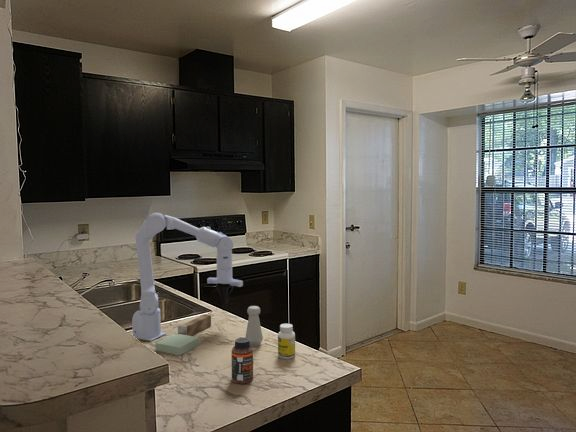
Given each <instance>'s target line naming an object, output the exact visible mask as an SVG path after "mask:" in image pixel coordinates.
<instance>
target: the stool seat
mask: <svg viewBox="0 0 576 432" xmlns="http://www.w3.org/2000/svg"><path fill="white" fill-rule="evenodd" d="M198 346H200V337H198V336H194V335H192V336H188V335H183V334H178V332H176V333H173V334H171V335H169V336H166V337H165V338H162V339H161V340H159V341H156V342H155V351H157V352H161V353H168V354H173V355H176V356H182V355H184V354H185V353H187V352H188V351H191V350H192V349H194V348H196V347H198Z"/></svg>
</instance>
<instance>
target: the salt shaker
mask: <svg viewBox="0 0 576 432" xmlns="http://www.w3.org/2000/svg"><path fill="white" fill-rule="evenodd" d="M246 311H247V314H248V321H247V326H246V333H245V337H244V338H248V339H249V341H250V342H249V343H250V344H249V345H250V346H251V347H252V348H257V347H259V346H260V345H261V344H262V341H263V339H264V336H263V332H262V327H261V322H260V317H259V315H260V314H261V308H260V307H259V306H258V305H250V306H248V308H247V310H246Z"/></svg>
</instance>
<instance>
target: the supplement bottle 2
mask: <svg viewBox="0 0 576 432" xmlns="http://www.w3.org/2000/svg"><path fill="white" fill-rule="evenodd" d="M293 327H294V326H293V324H292V323H281V324H280V325H279V330H280V331H279V332H278V333H277V355H278V357H279V358H280V359H284V360H290V359H293V358H294V357H295V356H296V333H295V331H294V328H293Z"/></svg>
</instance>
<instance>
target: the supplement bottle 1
mask: <svg viewBox="0 0 576 432" xmlns="http://www.w3.org/2000/svg"><path fill="white" fill-rule="evenodd" d="M249 342H250V341H249V339H248V338H245V337H238V338H235V340H234V346H233V347H232V349H231V380H232V382H234V383H236V384H239V385H240V384H241V385H243V384H247V383H250V382H252V380H253V379H254V349H253V348H254V347H251V346H250V345H249V344H250V343H249Z"/></svg>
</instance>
